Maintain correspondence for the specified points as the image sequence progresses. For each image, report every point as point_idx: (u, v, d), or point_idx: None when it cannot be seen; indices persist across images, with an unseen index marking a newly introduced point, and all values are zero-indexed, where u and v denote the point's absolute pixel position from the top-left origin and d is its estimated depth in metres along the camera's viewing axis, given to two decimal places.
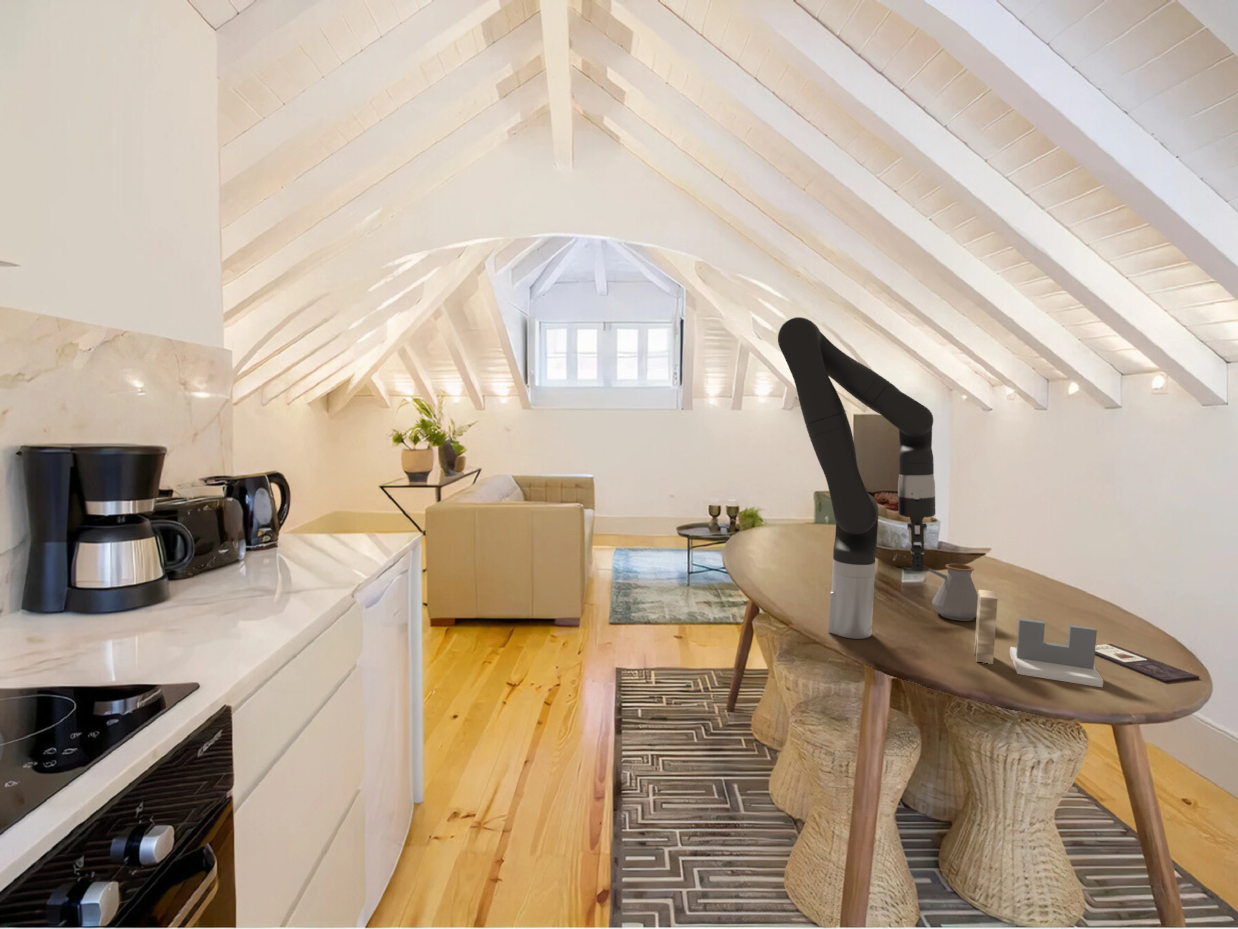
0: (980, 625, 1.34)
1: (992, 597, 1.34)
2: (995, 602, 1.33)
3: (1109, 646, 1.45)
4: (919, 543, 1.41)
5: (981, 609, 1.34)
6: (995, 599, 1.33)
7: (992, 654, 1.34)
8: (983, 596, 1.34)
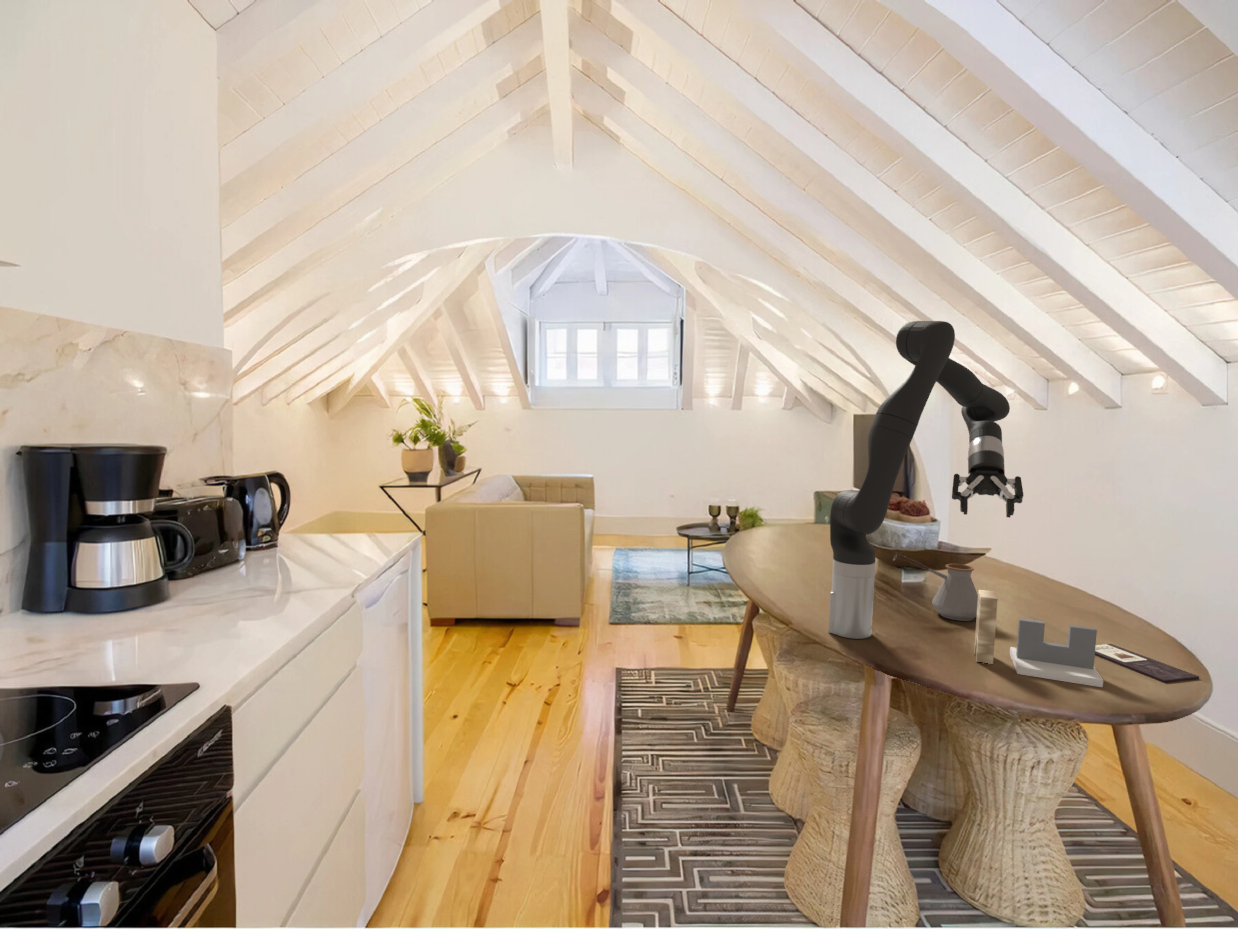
0: (980, 625, 1.34)
1: (992, 597, 1.34)
2: (995, 602, 1.33)
3: (1109, 646, 1.45)
4: (1005, 495, 1.49)
5: (981, 609, 1.34)
6: (995, 599, 1.33)
7: (992, 654, 1.34)
8: (983, 596, 1.34)
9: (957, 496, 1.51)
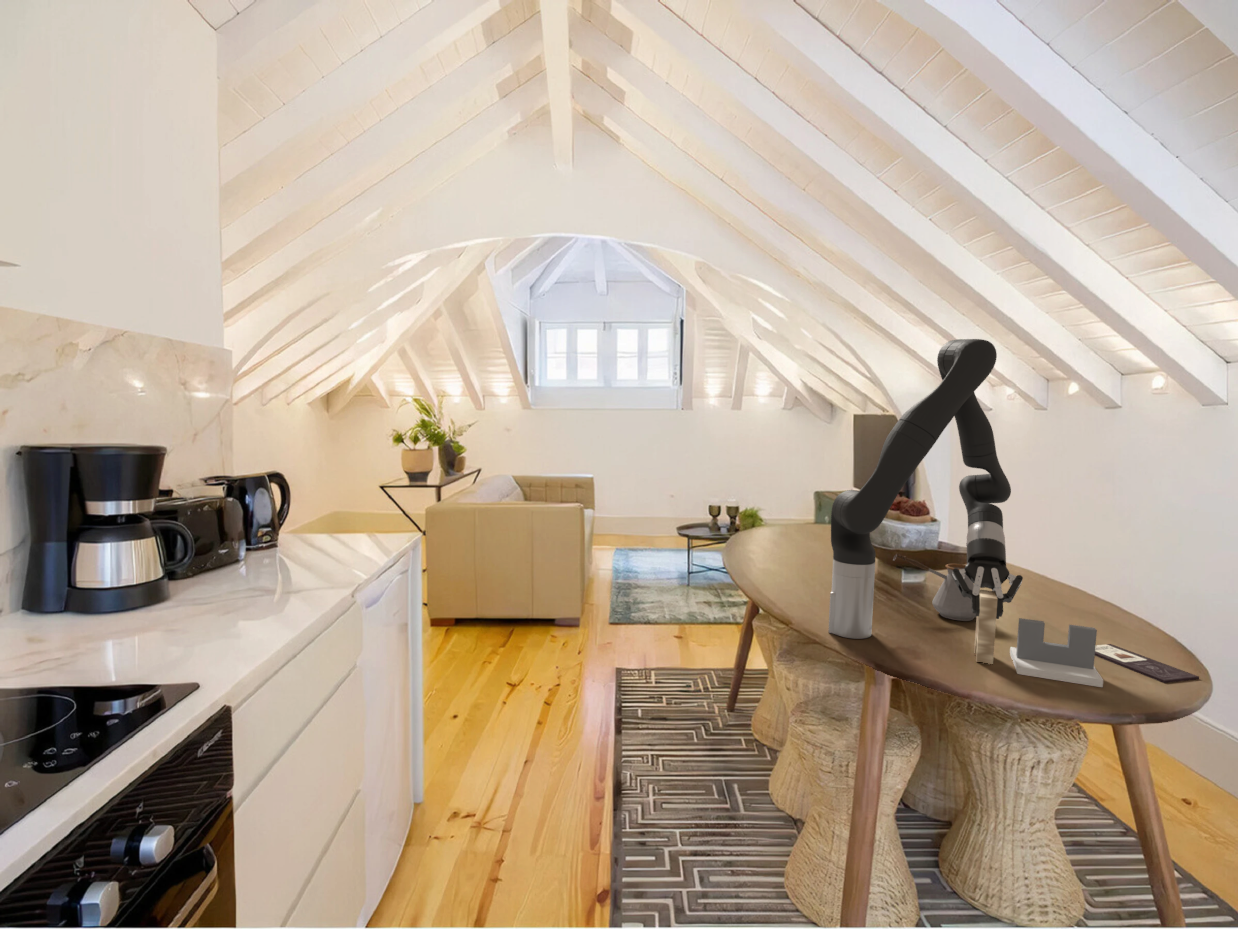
0: (980, 625, 1.34)
1: (992, 597, 1.34)
2: (995, 602, 1.33)
3: (1109, 646, 1.45)
4: None
5: (981, 609, 1.34)
6: (995, 599, 1.33)
7: (992, 654, 1.34)
8: (983, 596, 1.34)
9: (968, 594, 1.38)
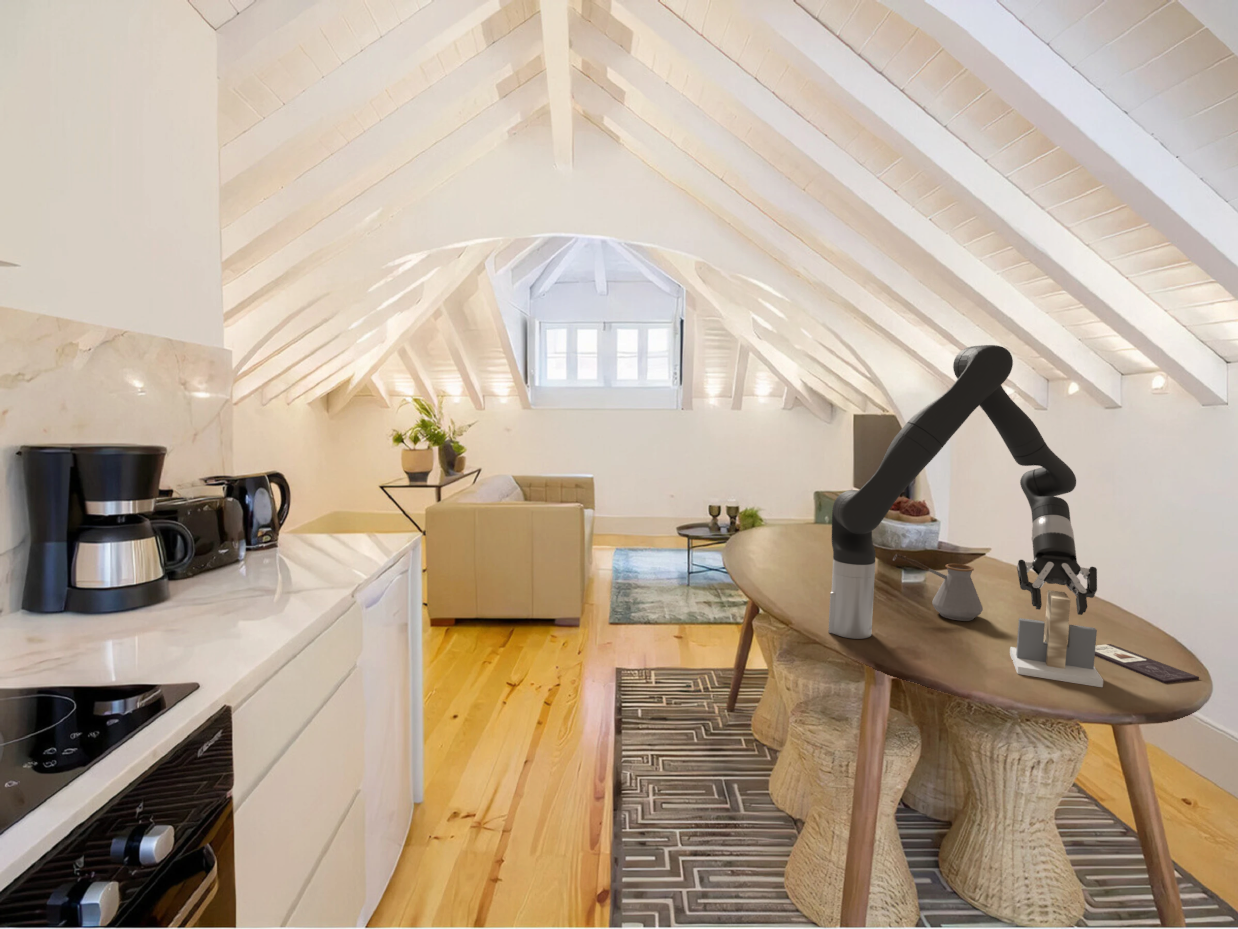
0: (1051, 627, 1.29)
1: (1064, 598, 1.29)
2: (1068, 603, 1.28)
3: (1109, 646, 1.44)
4: None
5: (1052, 611, 1.29)
6: (1068, 600, 1.28)
7: (1064, 657, 1.29)
8: (1054, 597, 1.29)
9: (1028, 587, 1.34)
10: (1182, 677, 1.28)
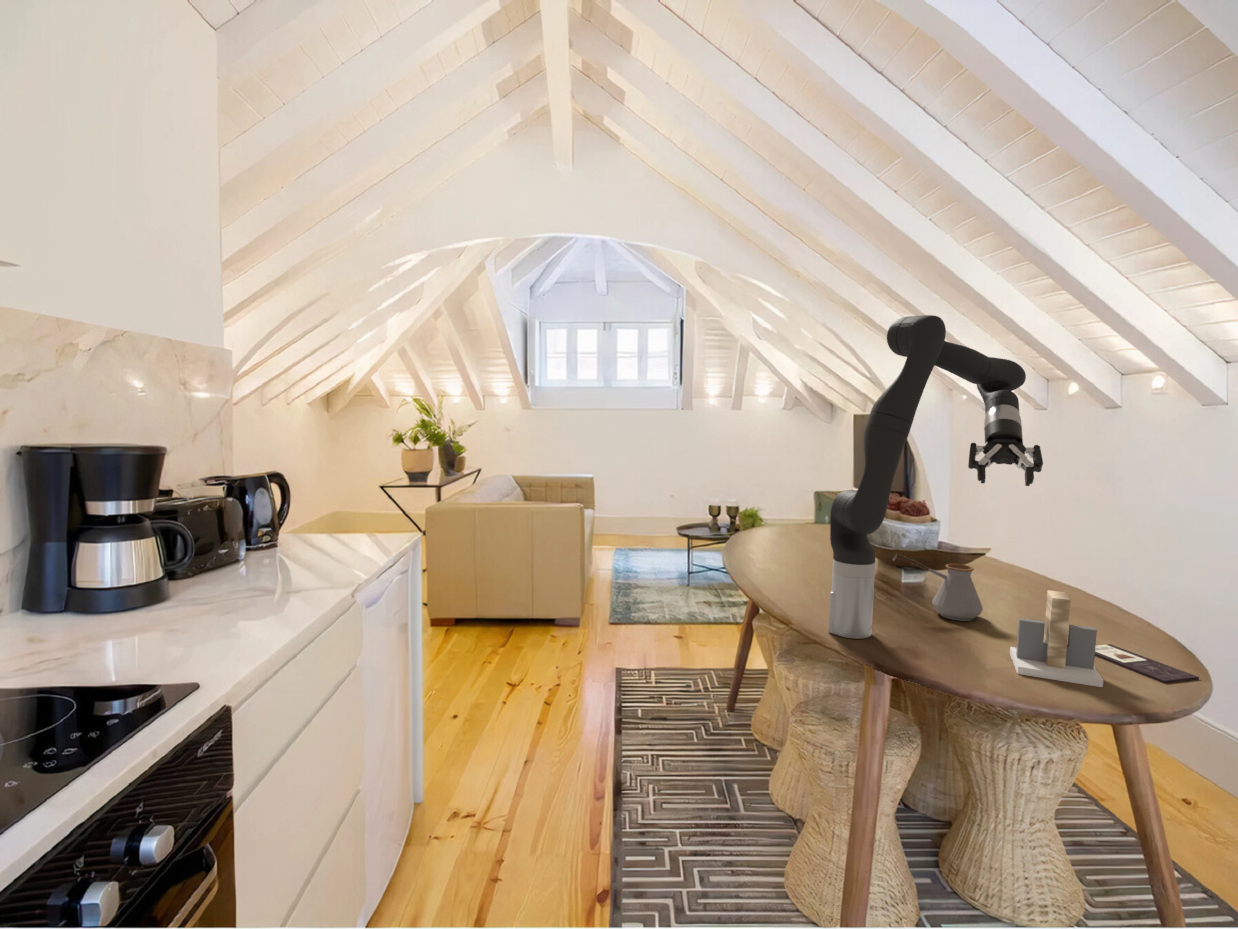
0: (1051, 627, 1.29)
1: (1064, 598, 1.29)
2: (1068, 603, 1.28)
3: (1109, 646, 1.44)
4: (1023, 464, 1.45)
5: (1052, 611, 1.29)
6: (1068, 600, 1.28)
7: (1064, 657, 1.29)
8: (1054, 597, 1.29)
9: (974, 465, 1.47)
10: (1182, 677, 1.28)
